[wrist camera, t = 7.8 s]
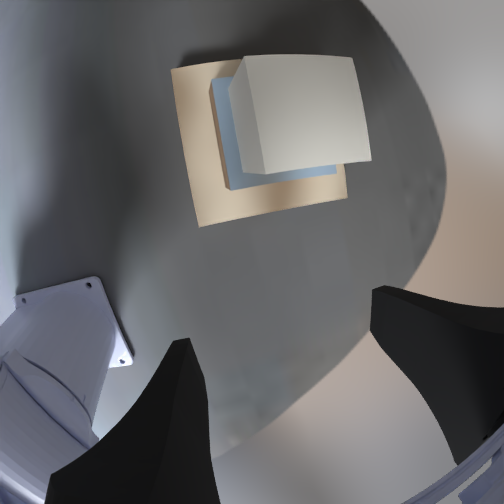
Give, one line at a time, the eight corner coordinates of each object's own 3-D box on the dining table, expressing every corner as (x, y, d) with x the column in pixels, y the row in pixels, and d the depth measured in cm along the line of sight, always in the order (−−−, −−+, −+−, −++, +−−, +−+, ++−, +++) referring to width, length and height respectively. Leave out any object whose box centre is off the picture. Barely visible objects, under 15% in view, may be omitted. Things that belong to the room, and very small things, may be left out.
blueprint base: (198, 221, 18) (200, 237, 14) (172, 79, 15) (167, 53, 11) (333, 194, 20) (368, 203, 15) (312, 66, 16) (342, 45, 12)
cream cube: (243, 172, 14) (265, 174, 9) (227, 88, 12) (244, 56, 8) (323, 160, 14) (371, 160, 10) (309, 83, 13) (352, 57, 9)
